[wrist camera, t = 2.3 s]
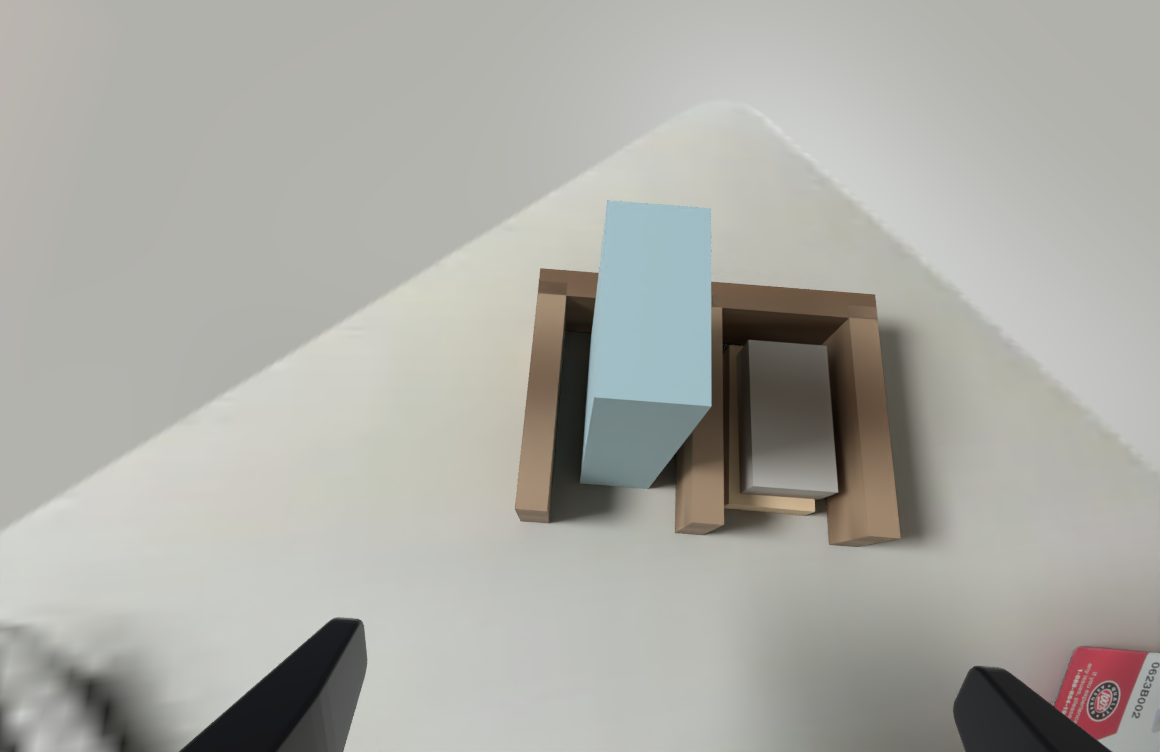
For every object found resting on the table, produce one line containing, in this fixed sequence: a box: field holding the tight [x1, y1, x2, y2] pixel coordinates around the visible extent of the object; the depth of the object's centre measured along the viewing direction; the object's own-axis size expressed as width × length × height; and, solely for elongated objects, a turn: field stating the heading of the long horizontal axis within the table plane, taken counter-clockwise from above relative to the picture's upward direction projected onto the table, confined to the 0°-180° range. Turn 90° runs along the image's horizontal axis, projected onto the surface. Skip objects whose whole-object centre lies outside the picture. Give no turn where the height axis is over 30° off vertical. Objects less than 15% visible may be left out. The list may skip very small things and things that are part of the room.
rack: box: [515, 268, 901, 547], centre depth 22 cm, size 8×12×3 cm
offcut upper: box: [737, 340, 838, 500], centre depth 22 cm, size 5×3×2 cm, turn 176°
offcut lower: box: [723, 345, 815, 516], centre depth 23 cm, size 6×3×2 cm, turn 175°
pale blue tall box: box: [580, 200, 711, 489], centre depth 19 cm, size 5×2×10 cm, turn 176°
